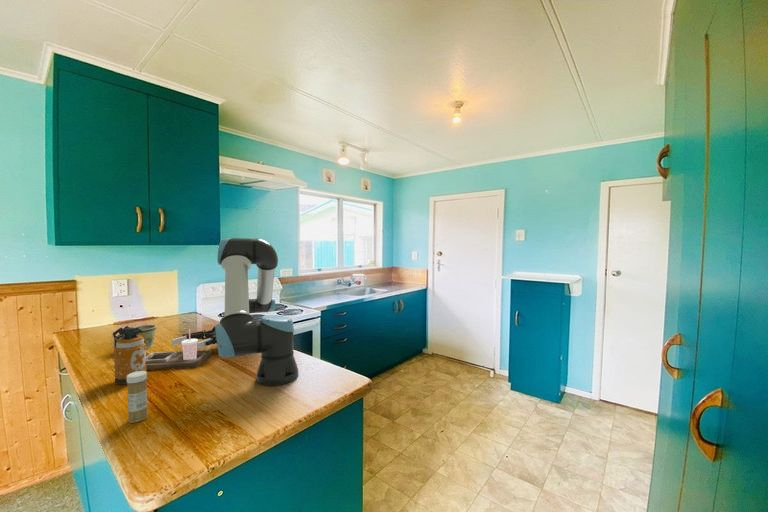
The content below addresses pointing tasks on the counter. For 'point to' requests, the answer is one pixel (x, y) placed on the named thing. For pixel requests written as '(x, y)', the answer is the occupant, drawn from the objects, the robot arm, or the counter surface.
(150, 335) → the ceramic cup
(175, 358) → the divided serving tray
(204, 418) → the counter surface
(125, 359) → the canister
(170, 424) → the counter surface
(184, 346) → the beverage cup
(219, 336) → the robot arm
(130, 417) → the sprinkles bottle
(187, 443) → the counter surface
